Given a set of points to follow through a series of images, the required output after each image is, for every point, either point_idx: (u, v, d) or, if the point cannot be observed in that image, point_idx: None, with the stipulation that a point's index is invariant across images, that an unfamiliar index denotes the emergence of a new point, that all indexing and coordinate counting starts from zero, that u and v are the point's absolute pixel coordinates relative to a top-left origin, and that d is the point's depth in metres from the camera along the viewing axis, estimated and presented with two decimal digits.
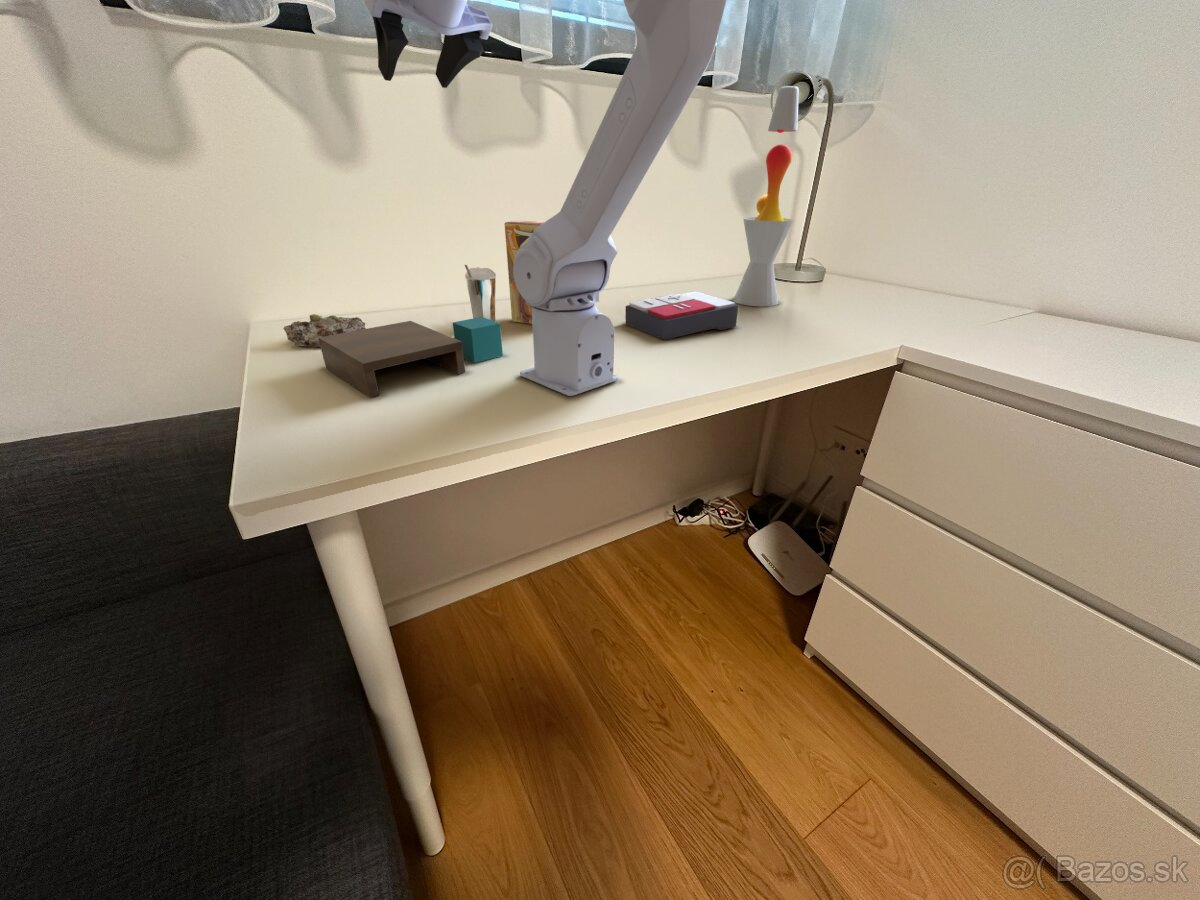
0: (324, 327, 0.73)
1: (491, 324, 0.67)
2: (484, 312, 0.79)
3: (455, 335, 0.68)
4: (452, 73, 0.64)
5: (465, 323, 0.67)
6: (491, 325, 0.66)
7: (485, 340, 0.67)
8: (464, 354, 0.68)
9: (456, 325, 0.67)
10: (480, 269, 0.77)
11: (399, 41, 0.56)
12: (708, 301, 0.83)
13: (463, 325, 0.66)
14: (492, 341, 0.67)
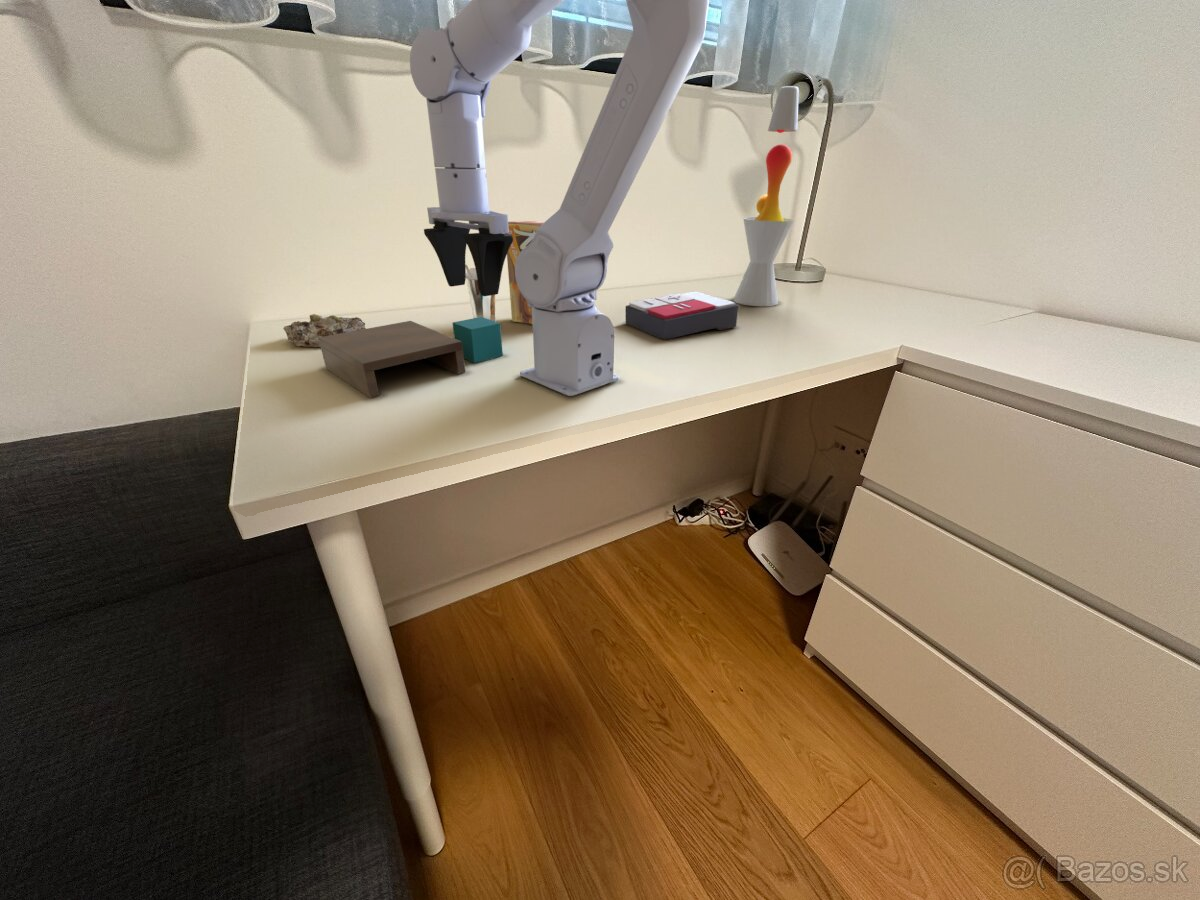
0: (324, 327, 0.73)
1: (491, 324, 0.67)
2: (484, 312, 0.79)
3: (455, 335, 0.68)
4: (464, 263, 0.67)
5: (465, 323, 0.67)
6: (491, 325, 0.66)
7: (485, 340, 0.67)
8: (464, 354, 0.68)
9: (456, 325, 0.67)
10: None
11: None
12: (708, 301, 0.83)
13: (463, 325, 0.66)
14: (492, 341, 0.67)
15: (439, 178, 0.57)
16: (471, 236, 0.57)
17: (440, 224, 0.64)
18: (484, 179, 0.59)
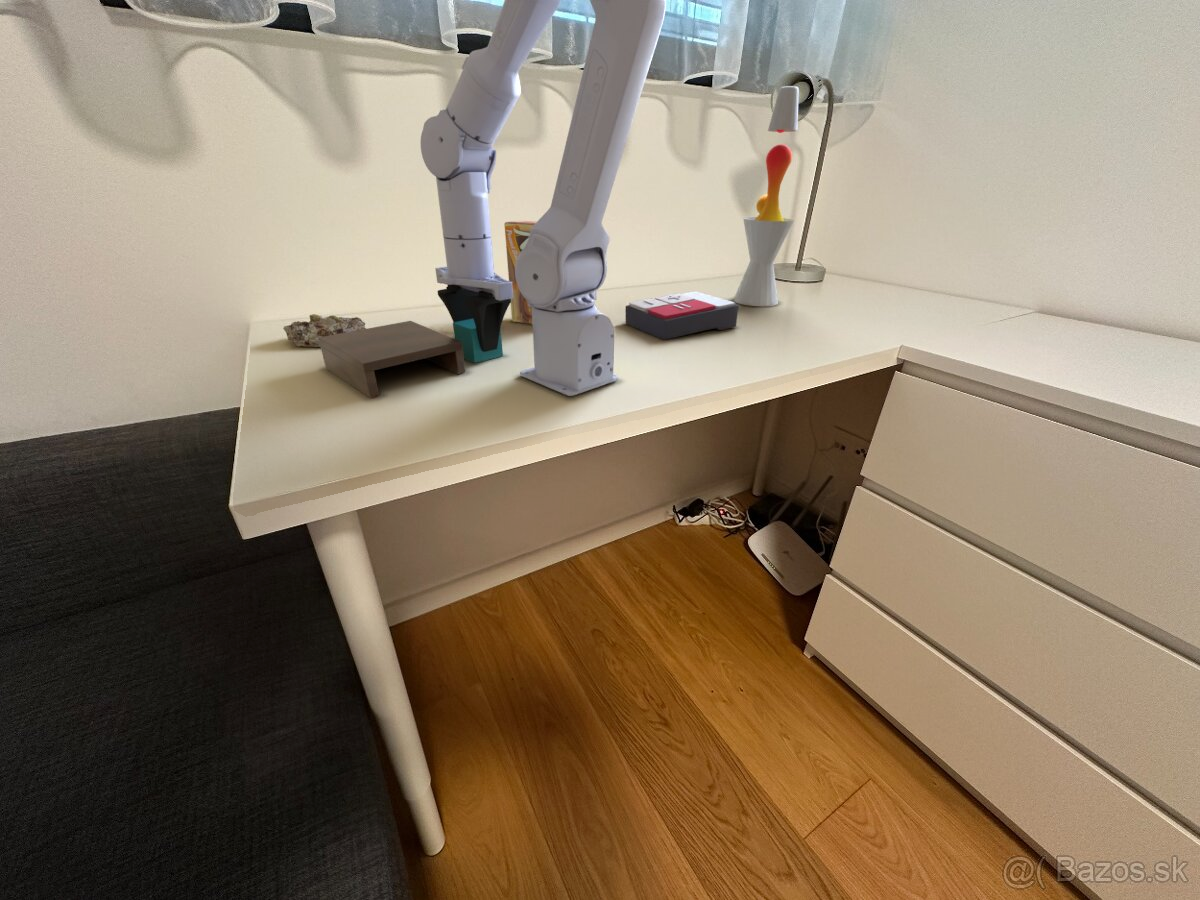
0: (324, 327, 0.73)
1: None
2: None
3: (455, 335, 0.68)
4: None
5: (465, 323, 0.67)
6: None
7: None
8: (464, 354, 0.68)
9: (456, 325, 0.67)
10: None
11: None
12: (708, 301, 0.83)
13: (463, 325, 0.66)
14: None
15: (447, 247, 0.61)
16: (472, 300, 0.61)
17: (453, 286, 0.67)
18: (490, 247, 0.62)
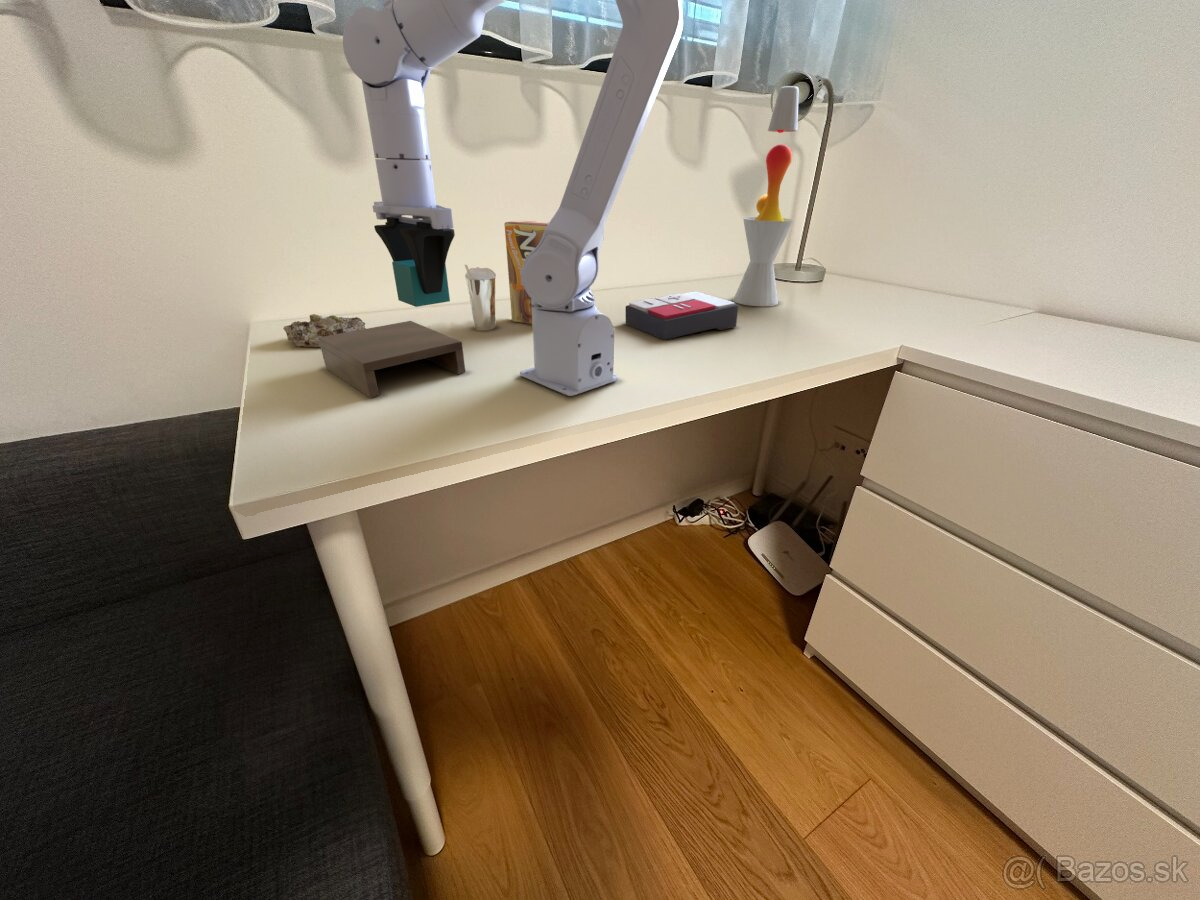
0: (324, 327, 0.73)
1: None
2: (484, 312, 0.79)
3: (395, 276, 0.61)
4: None
5: (406, 262, 0.60)
6: None
7: None
8: (405, 298, 0.61)
9: (395, 265, 0.60)
10: (480, 269, 0.77)
11: None
12: (708, 301, 0.83)
13: (403, 264, 0.59)
14: None
15: (379, 170, 0.54)
16: (406, 230, 0.54)
17: (392, 220, 0.60)
18: (428, 171, 0.55)
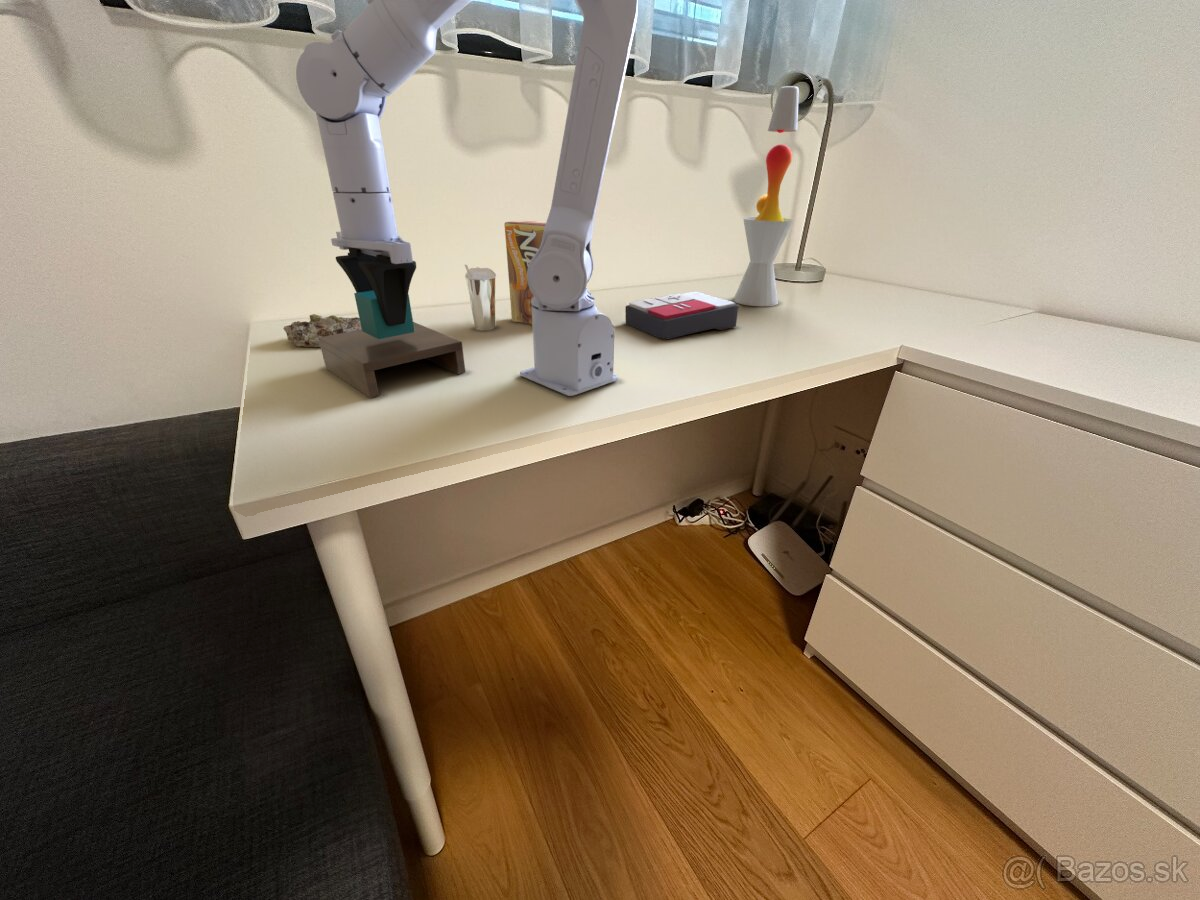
0: (324, 327, 0.73)
1: None
2: (484, 312, 0.79)
3: (358, 308, 0.60)
4: None
5: (368, 294, 0.59)
6: None
7: None
8: (368, 329, 0.60)
9: (357, 296, 0.59)
10: (480, 269, 0.77)
11: None
12: (708, 301, 0.83)
13: (364, 296, 0.58)
14: None
15: (337, 203, 0.53)
16: (365, 265, 0.53)
17: (354, 251, 0.59)
18: (388, 203, 0.54)
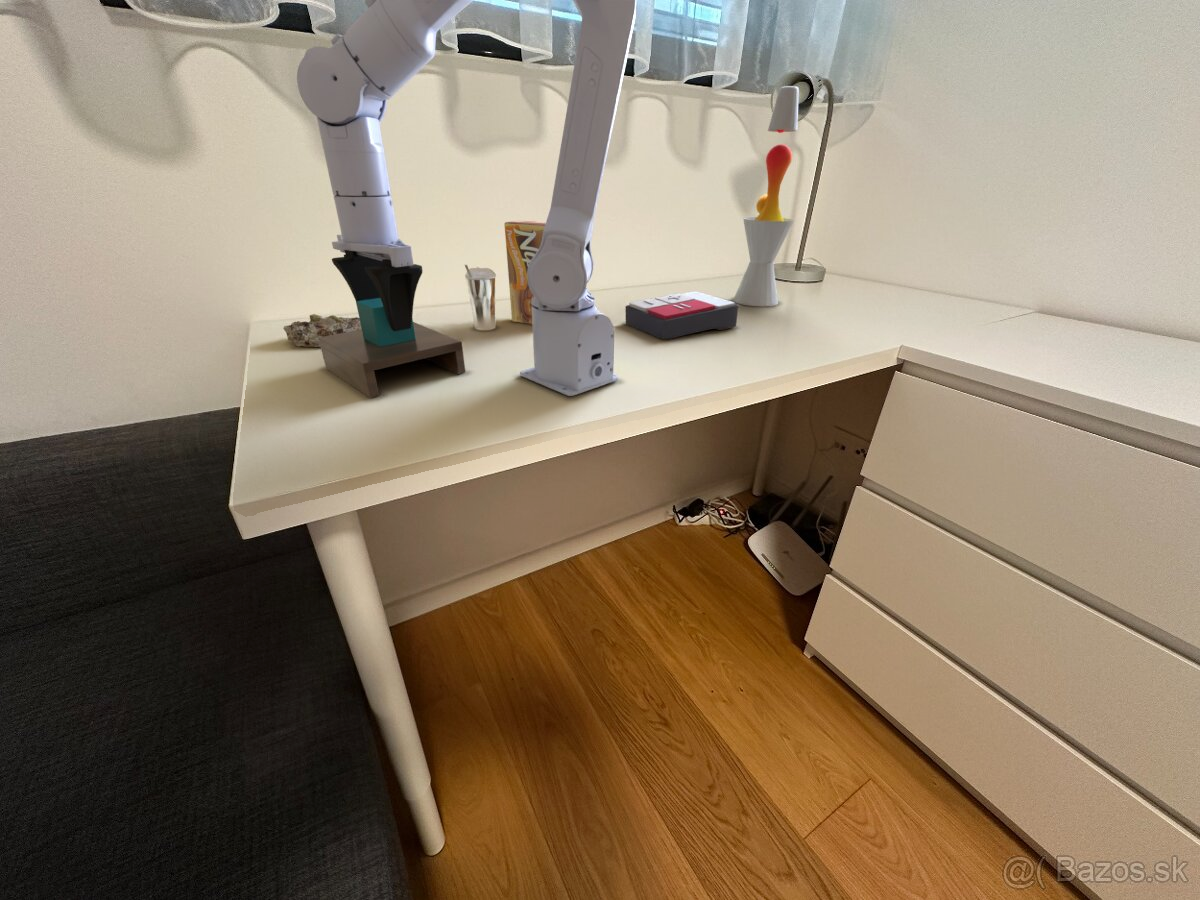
0: (324, 327, 0.73)
1: None
2: (484, 312, 0.79)
3: (360, 316, 0.60)
4: None
5: (369, 302, 0.59)
6: None
7: None
8: (370, 337, 0.60)
9: (359, 305, 0.59)
10: (480, 269, 0.77)
11: None
12: (708, 301, 0.83)
13: (366, 304, 0.58)
14: None
15: (337, 206, 0.53)
16: (371, 269, 0.52)
17: (350, 253, 0.60)
18: (388, 207, 0.54)
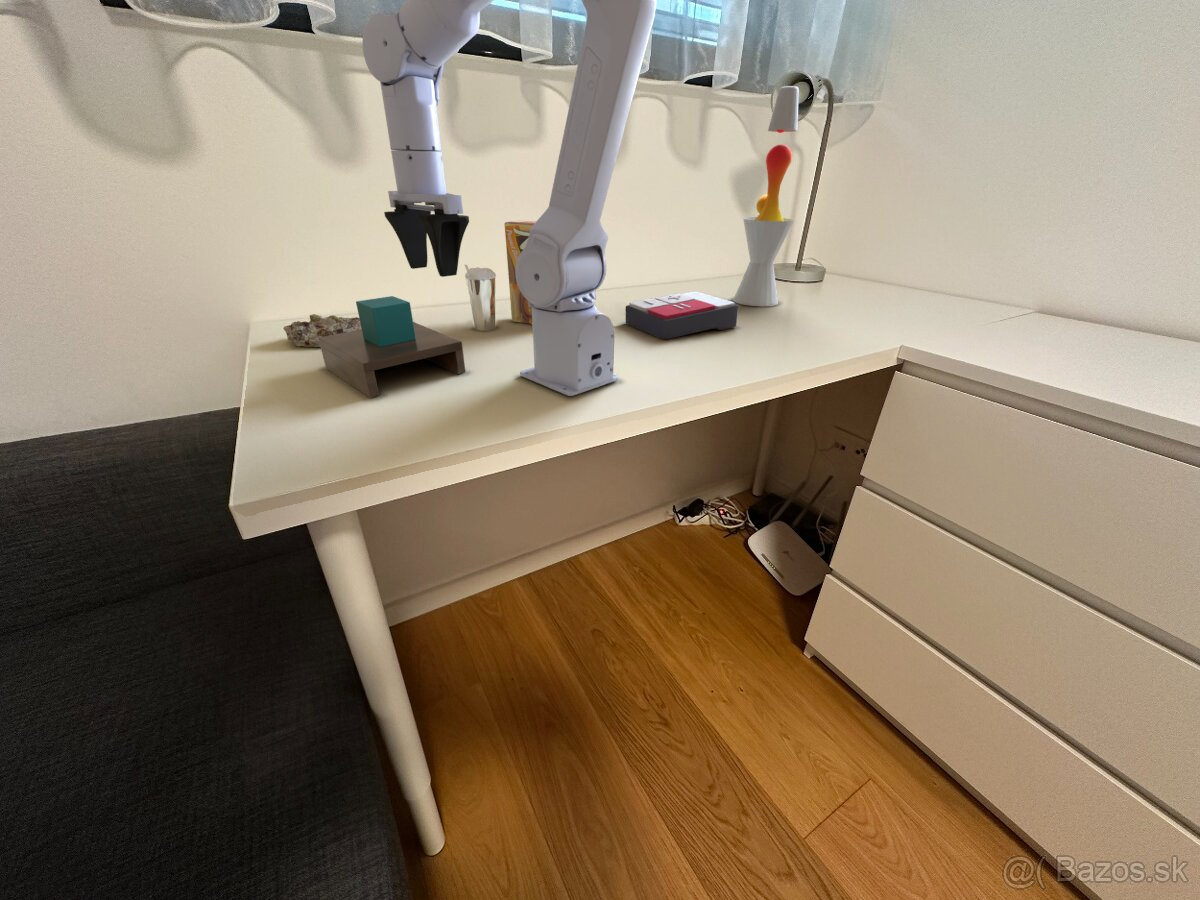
0: (324, 327, 0.73)
1: (399, 303, 0.59)
2: (484, 312, 0.79)
3: (360, 316, 0.60)
4: (425, 245, 0.69)
5: (369, 302, 0.59)
6: (398, 304, 0.59)
7: (392, 321, 0.59)
8: (370, 337, 0.60)
9: (359, 305, 0.59)
10: (480, 269, 0.77)
11: None
12: (708, 301, 0.83)
13: (366, 304, 0.58)
14: (401, 322, 0.60)
15: (395, 160, 0.59)
16: (426, 216, 0.58)
17: (400, 207, 0.66)
18: (439, 161, 0.60)
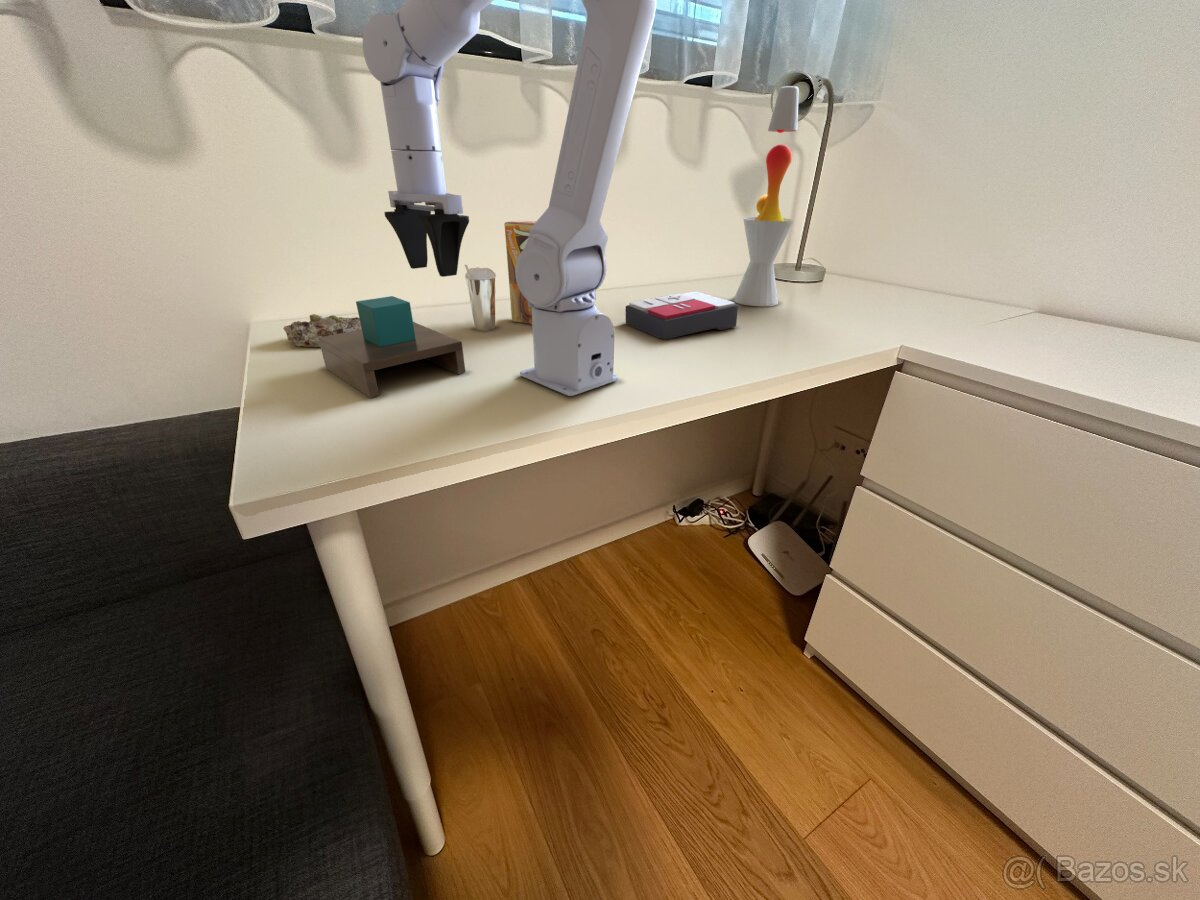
0: (324, 327, 0.73)
1: (399, 303, 0.59)
2: (484, 312, 0.79)
3: (360, 316, 0.60)
4: (425, 245, 0.69)
5: (369, 302, 0.59)
6: (398, 304, 0.59)
7: (392, 321, 0.59)
8: (370, 337, 0.60)
9: (359, 305, 0.59)
10: (480, 269, 0.77)
11: None
12: (708, 301, 0.83)
13: (366, 304, 0.58)
14: (401, 322, 0.60)
15: (395, 160, 0.59)
16: (426, 216, 0.58)
17: (400, 207, 0.66)
18: (440, 161, 0.60)
